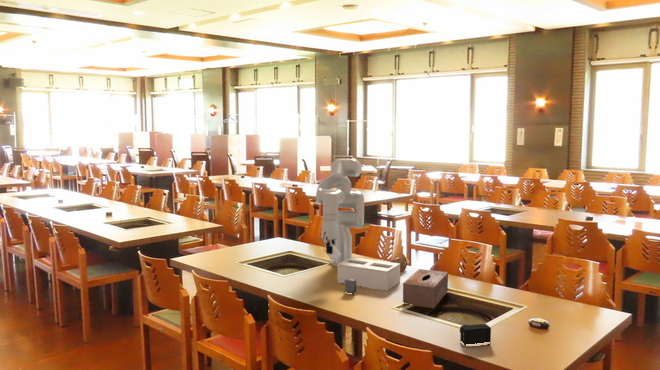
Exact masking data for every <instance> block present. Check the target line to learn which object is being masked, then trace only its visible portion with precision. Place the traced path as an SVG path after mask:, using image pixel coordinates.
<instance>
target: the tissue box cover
mask: <svg viewBox="0 0 660 370" xmlns="http://www.w3.org/2000/svg"><path fill="white" fill-rule="evenodd" d="M448 282H449V272H448V271H439V270H432V269H431V270H430V269H420V268H418V269H417V270H416V271H415V272H414V273H413V274H412V275H411V276H410V277H408V278H407V279H406V280H405V281H404V282H403V283H402V303H403V302H404V303H408V304H412V305H411V306H414V305H415V306H416V307H421V308H429V309H435V308H436V307H437V306H438V304H439V303H440V302H441V301H442V299H443V298H444V296H445V295H446V294H447V293H448V292H449V290H448V289H449V283H448ZM447 291H448V292H447ZM446 292H447V293H446ZM415 306H414V307H415Z"/></svg>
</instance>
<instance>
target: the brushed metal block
mask: <svg viewBox="0 0 660 370" xmlns="http://www.w3.org/2000/svg"><path fill="white" fill-rule="evenodd" d="M345 292H347V293H352V294H355V293H356V294H357V286H356V280H355V279H349V278H347V279H345V284H344V293H345ZM356 294H355V295H356Z"/></svg>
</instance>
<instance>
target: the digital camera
mask: <svg viewBox="0 0 660 370" xmlns="http://www.w3.org/2000/svg"><path fill="white" fill-rule="evenodd" d="M459 333H460V340H459V342H460V341H462V342H463V343H464V344H465V345H466V344H475V343H476V344H477V343H484V342H490V343H491V341H492V340H491V339H492V327H490V326H489V325H488V324H487V323H481V324H479V323H477V324H470V325H469V324H463V325H460V328H459Z"/></svg>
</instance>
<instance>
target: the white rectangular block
mask: <svg viewBox="0 0 660 370" xmlns="http://www.w3.org/2000/svg"><path fill="white" fill-rule="evenodd" d="M347 278H349V279H355V280H356V287H360V286H362V287H361V288H366V287H367V289H373V290H378V289H379V290H378V291H384V290H386V291H385V292H388V291H390V290H391V289H393V288H395V287H396V286H397V285H398V284H400V283H401V273H400V263H392V262H391V261H384V260H379V259H378V260H377V259H376V260H375V259H371V258H370V259H369V258H361V257H355V256H352V257H351V258H349V259H347V260H345V261H343V262H340V263H338V264H337V284H342V283H345V279H347ZM389 289H390V290H389Z"/></svg>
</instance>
